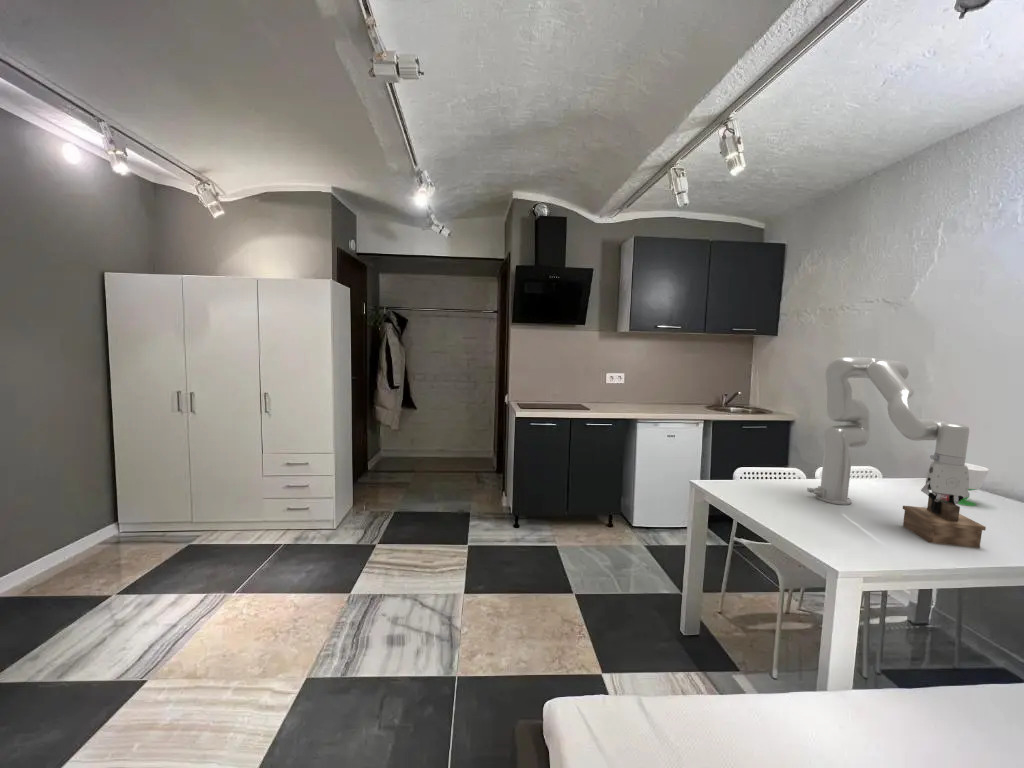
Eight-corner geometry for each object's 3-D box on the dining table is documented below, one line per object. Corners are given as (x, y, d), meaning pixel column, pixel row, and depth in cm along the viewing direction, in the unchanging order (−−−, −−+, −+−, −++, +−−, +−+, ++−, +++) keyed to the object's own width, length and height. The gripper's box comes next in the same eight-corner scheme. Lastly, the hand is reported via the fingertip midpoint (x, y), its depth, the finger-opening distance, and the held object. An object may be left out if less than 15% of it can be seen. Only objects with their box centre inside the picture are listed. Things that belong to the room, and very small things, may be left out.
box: (928, 545, 152) (931, 524, 151) (902, 528, 165) (904, 509, 165) (979, 550, 149) (982, 529, 148) (948, 533, 162) (951, 513, 162)
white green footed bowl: (938, 494, 207) (942, 459, 205) (981, 502, 198) (986, 466, 197) (940, 502, 196) (945, 465, 195) (986, 510, 188) (991, 472, 186)
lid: (930, 527, 151) (933, 506, 150) (902, 511, 165) (904, 491, 165) (984, 533, 148) (988, 511, 147) (951, 516, 162) (954, 496, 162)
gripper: (928, 460, 152) (921, 514, 154) (987, 465, 149) (979, 520, 151) (913, 455, 160) (907, 506, 162) (970, 459, 156) (962, 511, 158)
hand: (942, 512), depth 156 cm, fingers open, 3 cm apart
